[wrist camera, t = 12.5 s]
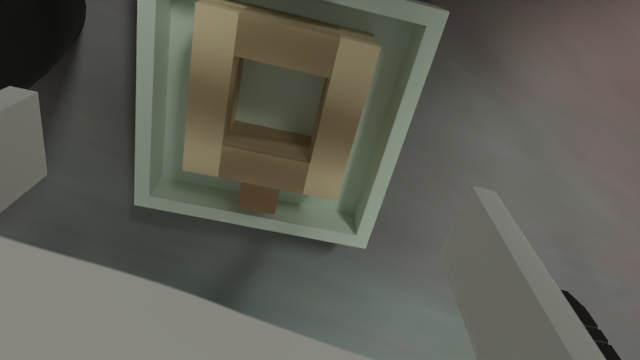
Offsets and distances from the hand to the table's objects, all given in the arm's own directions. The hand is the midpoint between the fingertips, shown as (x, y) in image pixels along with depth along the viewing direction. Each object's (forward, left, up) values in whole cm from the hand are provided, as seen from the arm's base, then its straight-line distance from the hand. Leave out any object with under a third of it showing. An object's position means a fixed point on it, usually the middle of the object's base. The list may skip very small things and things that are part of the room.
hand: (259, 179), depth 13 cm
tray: (+1, +1, -12) cm, 12 cm away
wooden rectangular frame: (0, 0, -11) cm, 11 cm away
